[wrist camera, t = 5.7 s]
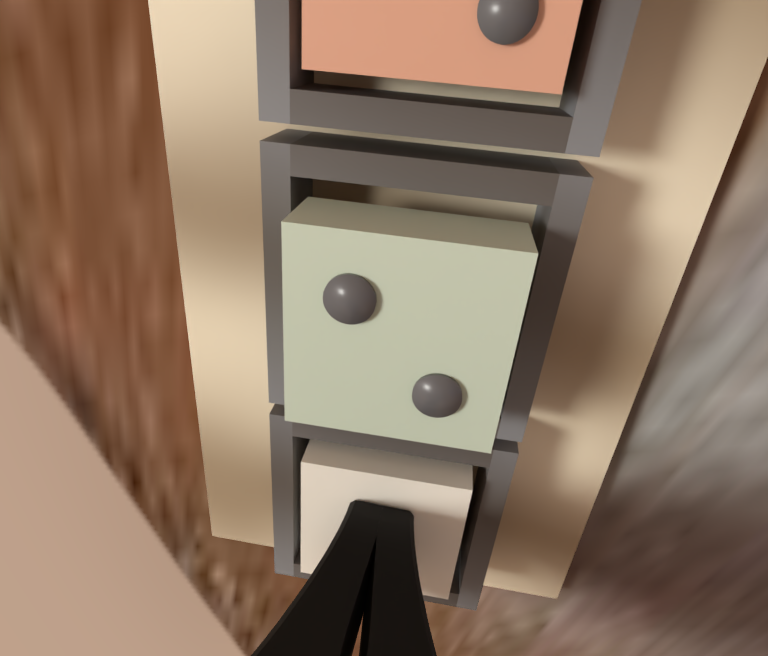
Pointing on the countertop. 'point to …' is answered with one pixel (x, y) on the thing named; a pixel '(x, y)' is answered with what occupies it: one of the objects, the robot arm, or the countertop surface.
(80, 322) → the countertop surface
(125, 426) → the countertop surface
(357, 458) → the key one
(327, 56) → the key three
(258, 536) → the key board
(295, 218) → the key two
